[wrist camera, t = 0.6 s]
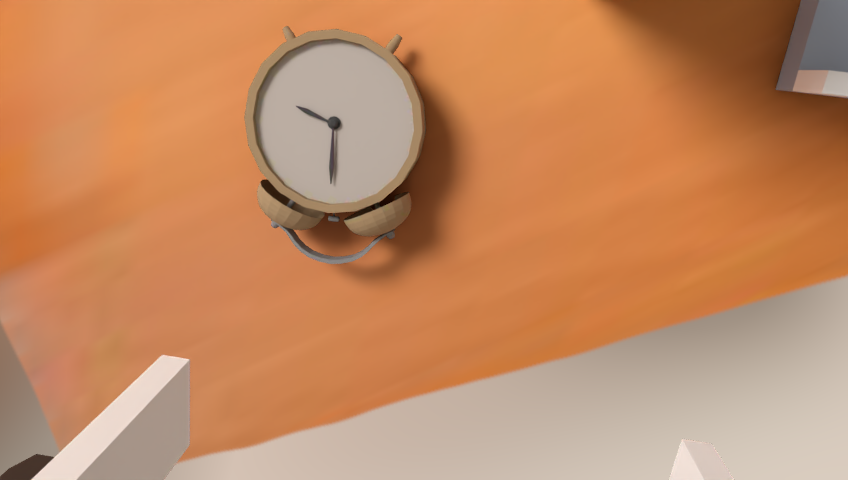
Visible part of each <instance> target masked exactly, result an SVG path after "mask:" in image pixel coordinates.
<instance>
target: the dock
mask: <svg viewBox="0 0 848 480" xmlns="http://www.w3.org/2000/svg"><path fill="white" fill-rule="evenodd" d="M776 90H781V91H790V92H798V93H807V94H815V95H823V96H832V97H840V98H848V0H801V2H800V6H799V9H798V13H797V16H796V20H795V23H794V27H793V30H792V34H791V37H790V41H789V44H788V48H787V51H786V55H785V58H784V62H783V65H782V69H781V72H780V76H779V79H778V83H777V86H776Z"/></svg>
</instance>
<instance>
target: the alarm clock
mask: <svg viewBox="0 0 848 480" xmlns="http://www.w3.org/2000/svg"><path fill="white" fill-rule="evenodd" d="M283 32H284V35H285V38H286V40H287V42H285V43H283V44H282V45H280V46H279V47H278V48H277V49H276V50H275V51H274V52H273V53H272V54H271V55H270V56H269V57H268V58H267V59H266V60H265V61H264V62H263V63H262V64H261V66H260V68H259V70H258V72H257V74H256V76H255V78H254V80H253V82H252V84H251V86H250V88H249V92H248V98H247V104H246V110H245V117H244V118H245V125H246V132H247V139H248V146H249V148H250V150H251V152H252V154H253V156H254V158H255V161H256V163H257V165H258V167H259V169H260V171H261V172H262V174H263V175H264V176H265V177H266V178H267V179H268V180H262V181H261V182H260V184H259V186H258V190H257V198H258V202H259V205H260V207H261V209H262V210H263V212H264V213H265V214H266V215H267V216H268V217H269V218H270V219H271V221H272V223H271V226H272V227H273V228H277V227H279V226H280V227H281V228H282V229H283V230H284V231H285V232H286V233H287V235H288V236H289V238H290V239H291V241H292V242H293V244H294V245H295V246H296V247H297V248H298V249H299V250H300V251H301V252H302V253H304V254H305V255H306V256H308V257H309V258H312V259H315V260H317V261H320V262H324V263H329V264H341V263H346V262H352V261H354V260H356V259H358V258H360V257H362V256H363V255H364V254H366V253H367V252H368V251H369V250H370V249H371V248H372V246H374V245H375V244H376V243H377V242H378V241H379V240H381V239H382V238H383V237H385V236H387V237H388V238H389V239H392V238H394V237H395V233H394V230H395V228H396V227H398V226H399V225H400V224H401V223H402V222H403V221H404V220H405V219H406V218H407V217H408V215H409V213H410V210H411V197H410V194H409V192H405V193H401V194H398V195H396V196H395V201H393V202H391V203H389V204H387V205H385V206H383V207H380V205H379V202H380V201H381V200H383V199H384V198H385V197H386V196H387V195H388V194H390V193H391V192H392V191H393V190H394V189H395V188H397V187H398V186H399V185H400V184H401V183H402V182H403V181H404V180H405V179H406V178H407V177H408V175H409V174H410V172H411V170H412V169H413V167H414V165H415V164H416V162H417V160H418V159H419V157H420V154H421V150H422V146H423V141H424V137H425V133H426V122H425V109H424V102H423V99H422V97H421V94H420V92H419V90H418V87H417V85H416V82H415V80H414V78H413V76H412V75H411V74H410V73H409V72H408V70H407V69H406V68H405V67H404V66H403V64H402V63H401V62H400V61H399V59H398V58H397V57H396V56H395V55H393V53H394V52H395V51H396V49H397V48H398V46H399V44H400V42H401V40H402V37H401V36H400V35H398V34H397V35H396V36H395V37H394V38H393V39H392V40H391V41H390V42H389V43H388V45H387V46H386V48H383V47H382V46H380V45H379V44H377V43H375V42H374V41H372V40H371V39H369V38H368V37H366V36H364V35H359V34H355V33H351V32H347V31H343V30H339V29H331V30H321V31H311V32H306V33H304V34H302V35H300V36H298V37H295V35H294V33H293V32H292V31H291V30H290V28H289V27H288V26H286V27H284V28H283ZM296 203H298V204H296ZM372 204H374V206H375V208H376V210H373V209H372V208H371V207H370V205H372ZM368 206H369V207H368ZM365 207H366V208H365ZM363 208H364V209H363ZM360 209H362V210H360ZM358 210H360V211H358ZM353 211H358V212H356V213H354V214H352V215H350V216H348V217H347V218H345V219H344V222H345V224H346V226H347V227H348V228H349V229H350V230H351V231H352V232H353V233H355V234H357V235H361V236H377V235H380V236H379V237H377V238H376V239H375V240H373V242H372V243H371V244H370V245H369V246H368V247H366V248H365V249H364V250H362V251H360V252H358V253H356V254H354V255H349V256H340V257H333V256H328V255H323V254H321V253H318V252H316V251H313V250H312V249H310V248H309V247H308V246H306V245H305V244H304V243H303V242H302V241H301V240H300V239H299V237H298V236H297V234H296V233H295V232H294V230H306V229H310V228H313V227H314V226H316V225H317V224H318V223H319V222H320V221H321V220H322V219H323V217H324V215H325V214H324V212H327V213H333V216H329V217H328V220H329V221H335V222H339V217H337V216H335V213H338V212H353ZM293 229H294V230H293ZM381 234H382V235H381Z"/></svg>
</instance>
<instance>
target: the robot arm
mask: <svg viewBox="0 0 848 480" xmlns="http://www.w3.org/2000/svg"><path fill="white" fill-rule="evenodd" d="M189 445H190V359H185V358H178V357H172V356H166V355H162V356H161V357H159V358H158V359H157V360H156V361H155V362H154V363H153V364H152V365H151V366H150V367H149V368H148V369H147V370H146V371H145V372H144V373H143V374H142V375H141V376H140V377H138V378H137V379H136V380H135V381H134V382H133V383H132V384H131V385H130V386H129V387H128V388H127V389H126V390H125V391H124V392H123V393H122V394H121V395H120V396H119V397H117V398H116V399H115V400H114V401H113V402H112V403H111V404H110V405H109V406H108V407H107V408H106V409H105V410H104V411H103V412H102V413H101V414H100V415H99V416H98V417H96V418H95V419H94V420H93V421H92V422H91V423H90V424H89V425H88V426H87V427H86V428H85V429H84V430H83V431H82V432H81V433H80V434H79V435H78V436H76V437H75V438H74V439H73V440H72V441H71V442H70V443H69V444H68V445H67V446H66V447H65V448H64V449H63V450H62V451H61V452H60V453H59V454H58V455H57V456H55V457H51V456H44V455H38V454H36V455H34V456H32V457H30V458H28V459H26V460H25V461H23V462H21V463H19V464H17V465H15V466H13V467H11V468H9V469H8V470H7V471H6V472H5V473H4V474H2V475H1V476H0V480H164V479H165V478H166V476H167V475H168V474H169V472H170V471H171V469H172V468H173V467H174V465H175V464H176V463H177V461H178V460H179V459H180V457H181V456H182V455H183V453H184V452H185V450H186V449H187V448H188V446H189ZM669 480H734V479H733V477H732V475H731V474H730V472H729V470H728V469H727V467H726V466H725V464H724V462H723V461H722V459H721V457H720V456H719V454H718V453H717V451H716V449H715V448H714V446H713V444H712V443H706V442H699V441H694V440H687V439H682V441H681V444H680V447H679V450H678V453H677V456H676V459H675V463H674V465H673V468H672V472H671V475H670V478H669Z"/></svg>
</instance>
